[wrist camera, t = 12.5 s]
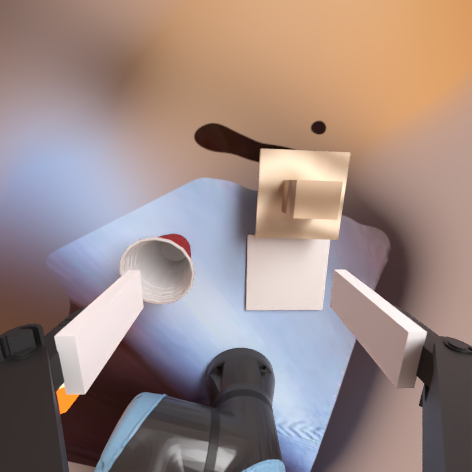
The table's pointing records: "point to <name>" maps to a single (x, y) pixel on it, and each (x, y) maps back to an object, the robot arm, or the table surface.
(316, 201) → the birch lid
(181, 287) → the plastic cup
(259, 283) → the white square panel
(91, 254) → the table surface
